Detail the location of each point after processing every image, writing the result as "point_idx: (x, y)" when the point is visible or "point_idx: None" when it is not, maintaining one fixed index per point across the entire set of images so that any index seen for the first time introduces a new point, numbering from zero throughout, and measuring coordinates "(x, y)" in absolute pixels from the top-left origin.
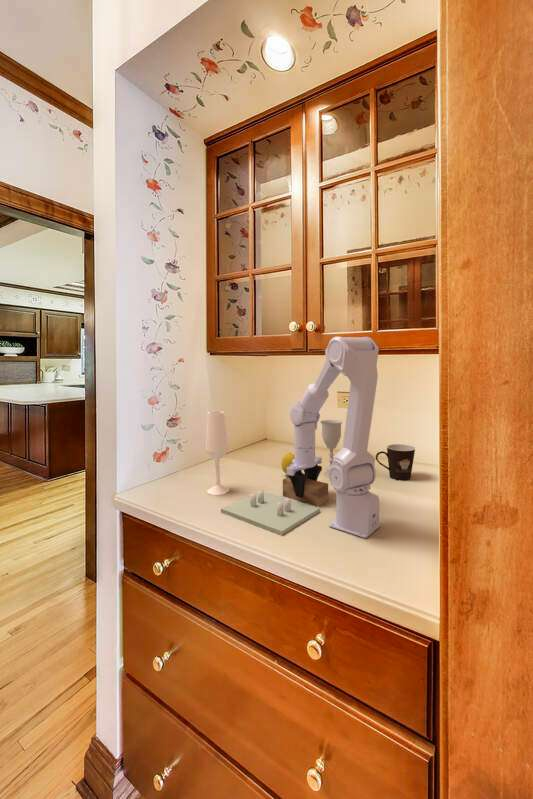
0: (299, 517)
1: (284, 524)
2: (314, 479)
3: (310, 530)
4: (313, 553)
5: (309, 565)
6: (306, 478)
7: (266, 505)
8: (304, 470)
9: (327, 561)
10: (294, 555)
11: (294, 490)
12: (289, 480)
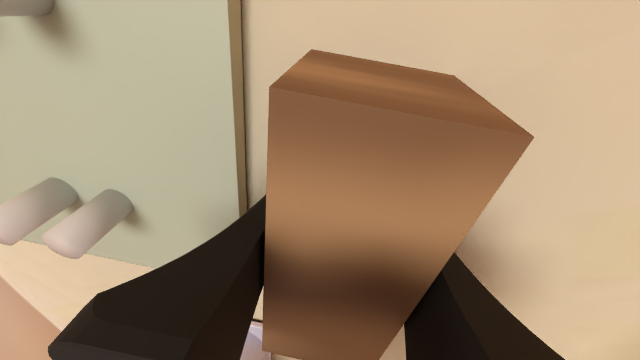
0: (121, 252)
1: (36, 229)
2: (408, 331)
3: (123, 274)
4: (59, 295)
5: (26, 296)
6: (426, 284)
7: (43, 67)
8: (476, 356)
9: (68, 314)
10: (11, 271)
11: (256, 204)
12: (287, 179)
